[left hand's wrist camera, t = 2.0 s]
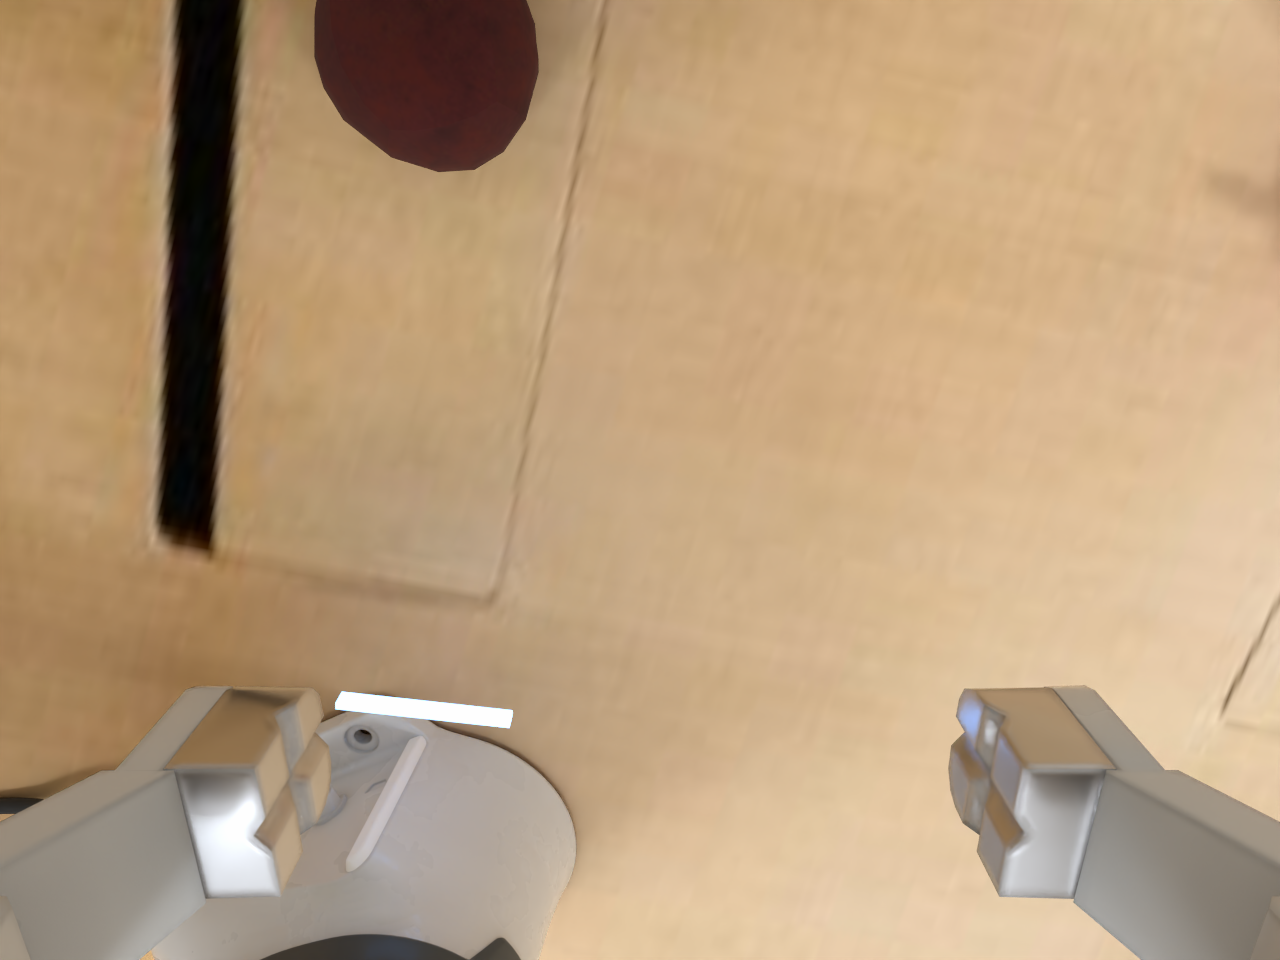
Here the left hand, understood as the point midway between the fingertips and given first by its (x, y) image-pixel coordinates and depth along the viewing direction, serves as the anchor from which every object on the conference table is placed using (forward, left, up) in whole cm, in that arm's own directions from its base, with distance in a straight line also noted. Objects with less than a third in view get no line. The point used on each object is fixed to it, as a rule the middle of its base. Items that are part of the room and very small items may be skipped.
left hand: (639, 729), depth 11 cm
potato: (-4, +12, -26) cm, 29 cm away
